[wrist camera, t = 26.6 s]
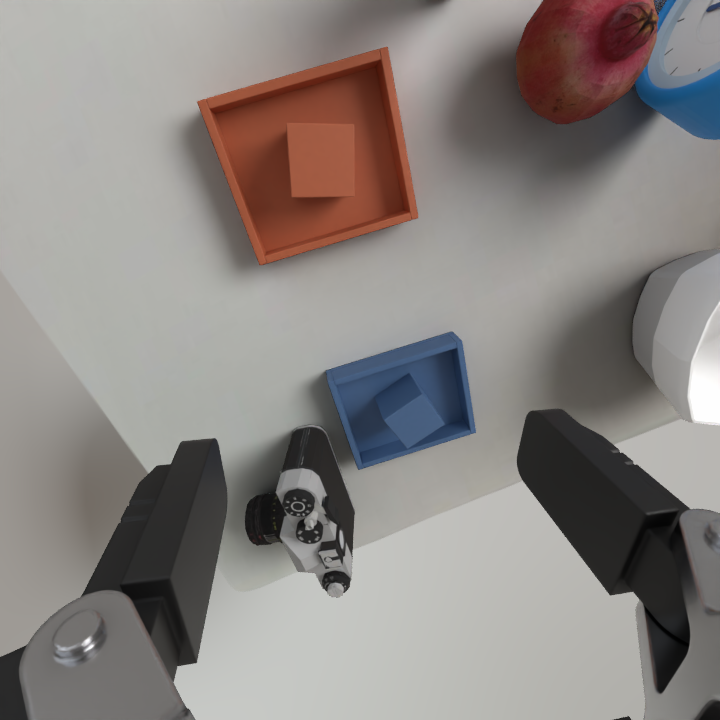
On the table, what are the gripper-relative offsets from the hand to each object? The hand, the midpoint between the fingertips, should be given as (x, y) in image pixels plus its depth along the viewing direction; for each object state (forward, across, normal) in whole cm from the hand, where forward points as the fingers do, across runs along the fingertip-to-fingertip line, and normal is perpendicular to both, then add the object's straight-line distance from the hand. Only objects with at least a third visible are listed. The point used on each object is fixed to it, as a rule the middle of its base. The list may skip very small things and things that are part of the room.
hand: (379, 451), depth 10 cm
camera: (+26, +4, +25) cm, 36 cm away
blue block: (+26, -8, +14) cm, 30 cm away
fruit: (+26, -18, -14) cm, 35 cm away
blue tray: (+26, -8, +14) cm, 31 cm away
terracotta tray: (+26, 0, -7) cm, 27 cm away
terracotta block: (+26, 0, -7) cm, 27 cm away
